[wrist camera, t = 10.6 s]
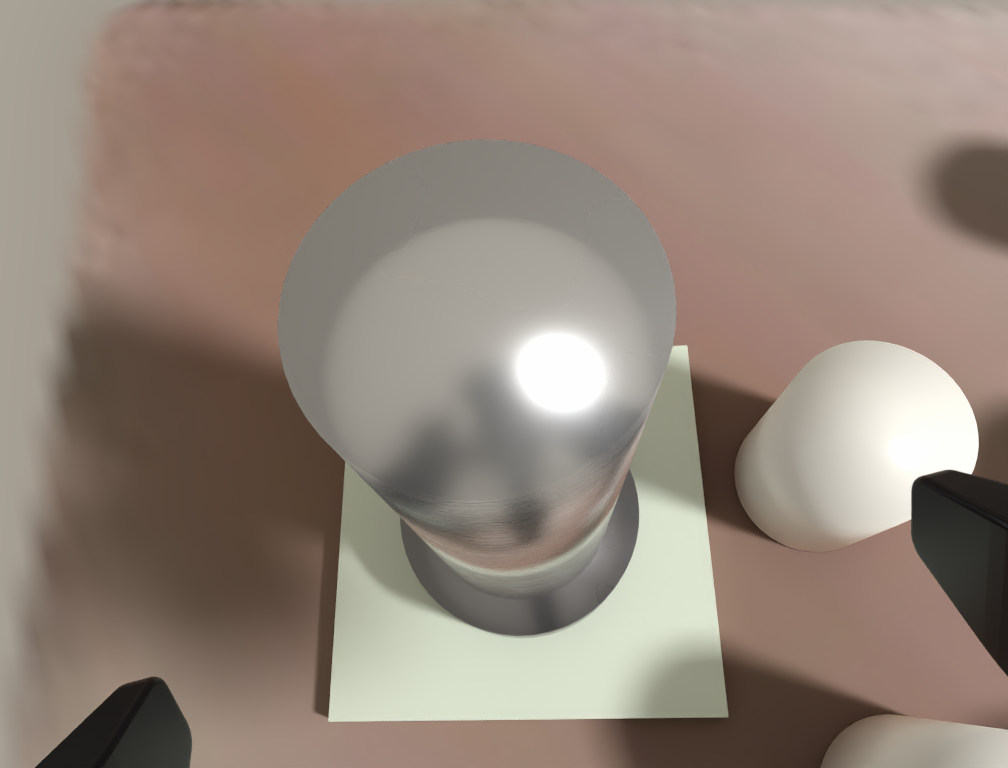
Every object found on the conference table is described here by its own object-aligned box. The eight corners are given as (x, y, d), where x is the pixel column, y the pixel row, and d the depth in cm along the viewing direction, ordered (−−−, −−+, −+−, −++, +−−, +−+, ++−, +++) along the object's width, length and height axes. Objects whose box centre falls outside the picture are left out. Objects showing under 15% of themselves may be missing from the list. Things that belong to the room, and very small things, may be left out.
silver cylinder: (675, 565, 20) (872, 394, 8) (476, 683, 19) (338, 703, 7) (560, 382, 22) (570, 17, 10) (376, 482, 21) (136, 223, 9)
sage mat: (724, 715, 19) (728, 717, 18) (333, 720, 19) (328, 721, 19) (684, 352, 22) (687, 345, 22) (356, 364, 23) (351, 358, 22)
